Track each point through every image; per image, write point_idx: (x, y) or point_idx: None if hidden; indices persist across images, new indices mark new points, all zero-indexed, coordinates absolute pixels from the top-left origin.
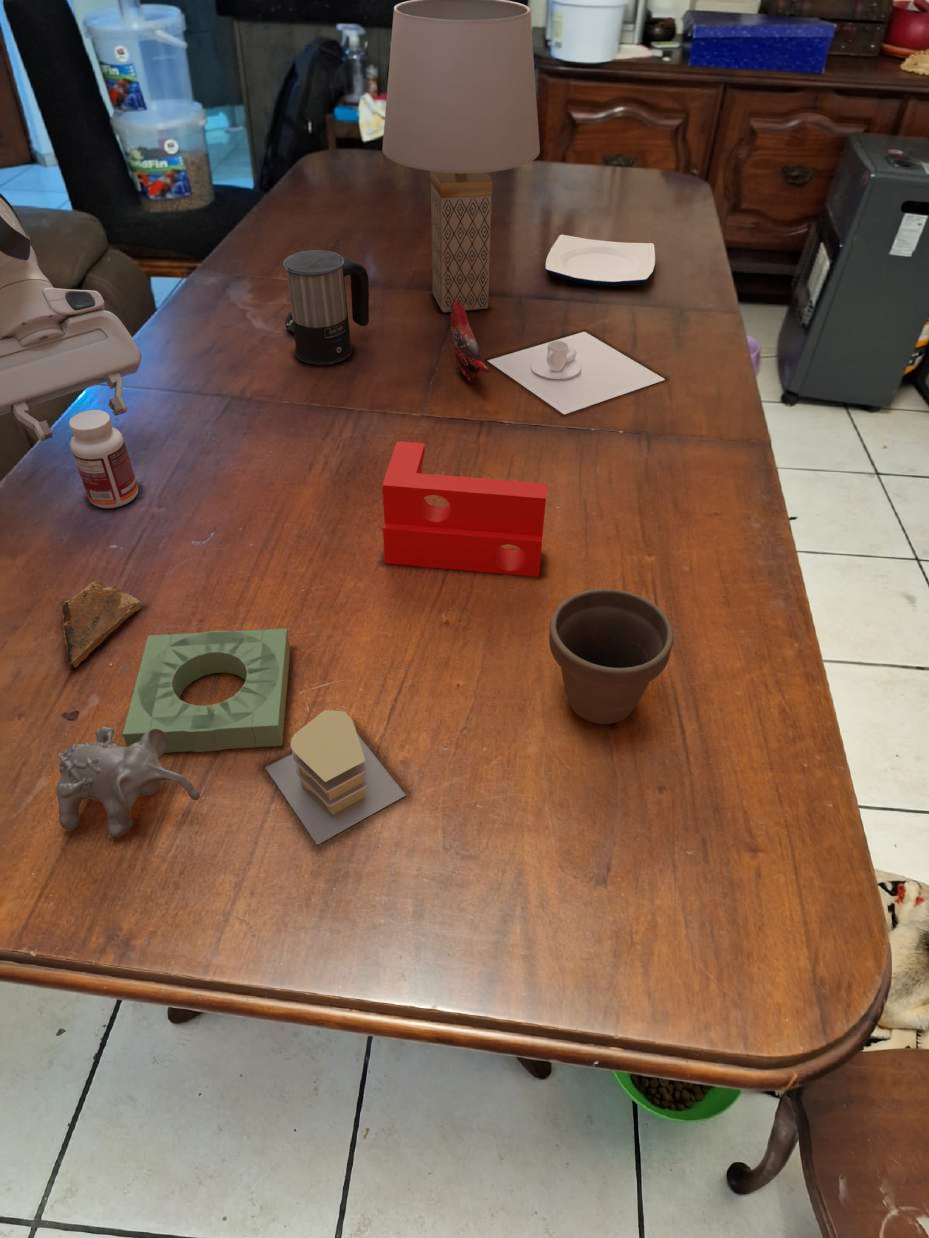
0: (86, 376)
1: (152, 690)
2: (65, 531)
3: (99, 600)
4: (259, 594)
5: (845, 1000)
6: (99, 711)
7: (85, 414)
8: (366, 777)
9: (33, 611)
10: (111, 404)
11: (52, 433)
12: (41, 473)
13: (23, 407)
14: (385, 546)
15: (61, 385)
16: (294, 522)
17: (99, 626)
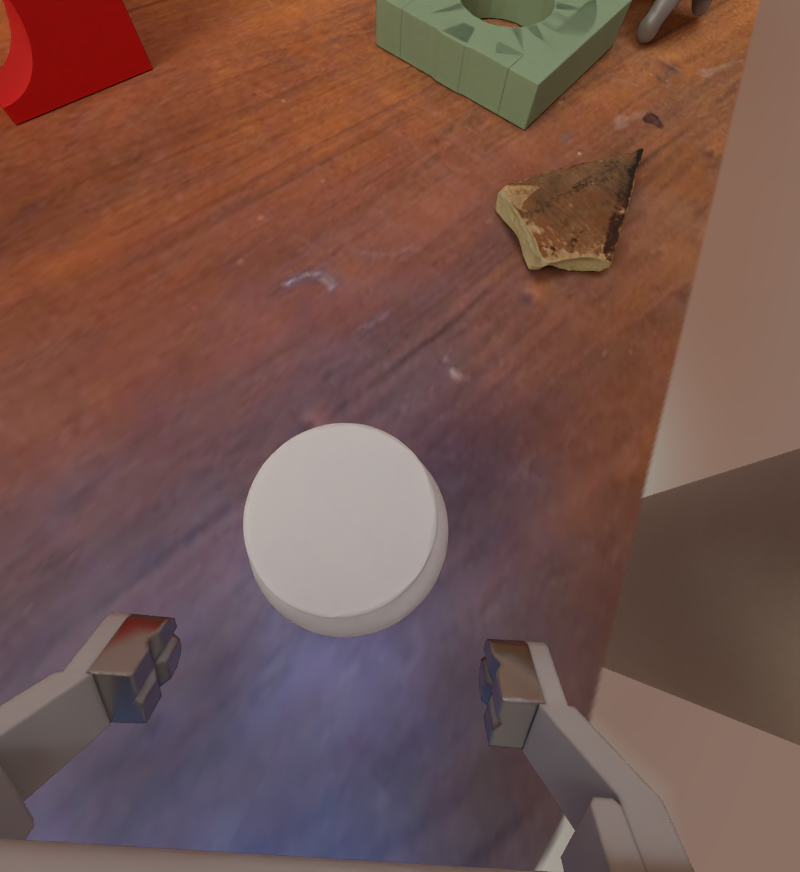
0: (86, 866)
1: (576, 18)
2: (515, 491)
3: (558, 214)
4: (336, 130)
5: None
6: (620, 106)
7: (328, 575)
8: None
9: (645, 311)
10: (149, 668)
11: (488, 639)
12: (462, 834)
13: (623, 830)
14: (132, 23)
15: (319, 866)
16: (158, 216)
17: (579, 174)
